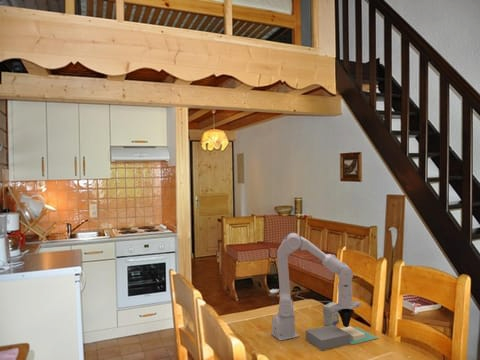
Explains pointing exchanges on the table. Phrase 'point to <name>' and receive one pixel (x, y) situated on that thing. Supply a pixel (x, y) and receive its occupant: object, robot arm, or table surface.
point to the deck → (327, 337)
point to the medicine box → (330, 315)
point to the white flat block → (354, 333)
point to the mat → (367, 337)
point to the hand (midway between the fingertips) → (345, 326)
